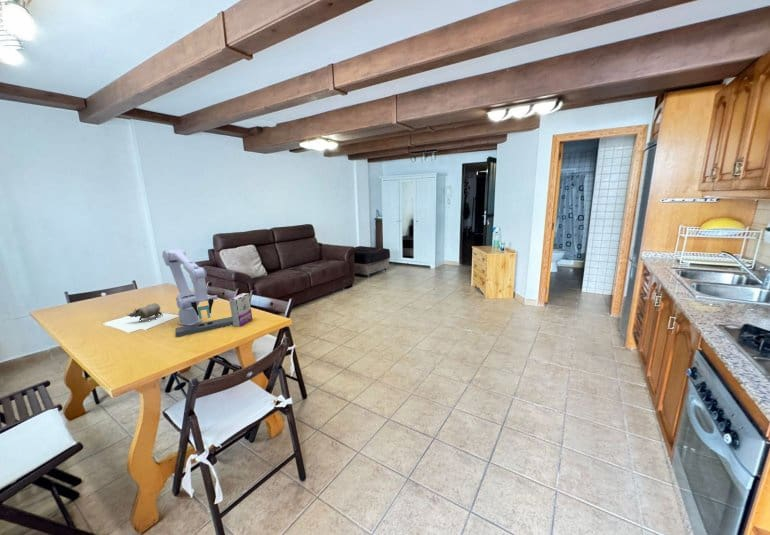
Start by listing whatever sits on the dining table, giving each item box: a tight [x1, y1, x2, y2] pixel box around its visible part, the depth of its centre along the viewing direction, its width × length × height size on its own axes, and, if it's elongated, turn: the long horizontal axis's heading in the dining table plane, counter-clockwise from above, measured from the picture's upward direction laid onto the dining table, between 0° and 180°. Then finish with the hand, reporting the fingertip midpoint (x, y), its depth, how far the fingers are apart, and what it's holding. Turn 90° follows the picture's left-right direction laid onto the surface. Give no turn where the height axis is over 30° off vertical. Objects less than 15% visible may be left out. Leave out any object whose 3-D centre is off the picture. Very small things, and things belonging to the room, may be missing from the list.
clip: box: [197, 304, 211, 320], centre depth 164 cm, size 5×2×6 cm, turn 124°
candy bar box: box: [228, 292, 253, 328], centre depth 171 cm, size 11×5×16 cm, turn 168°
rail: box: [174, 316, 233, 338], centre depth 166 cm, size 28×8×2 cm, turn 124°
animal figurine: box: [126, 302, 163, 321], centre depth 180 cm, size 8×14×15 cm
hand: (204, 313), depth 164 cm, fingers closed on clip, 5 cm apart
